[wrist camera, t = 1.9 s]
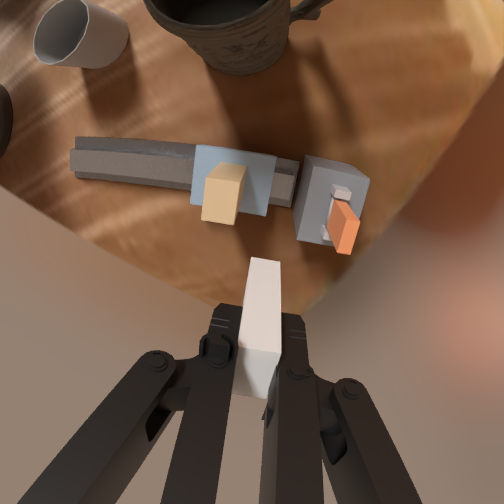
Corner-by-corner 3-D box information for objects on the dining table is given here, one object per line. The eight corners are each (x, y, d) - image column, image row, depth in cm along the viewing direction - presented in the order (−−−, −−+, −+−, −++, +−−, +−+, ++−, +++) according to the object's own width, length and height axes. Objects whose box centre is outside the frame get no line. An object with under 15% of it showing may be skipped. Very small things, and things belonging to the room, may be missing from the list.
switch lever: (323, 222, 31) (335, 252, 25) (330, 195, 29) (345, 218, 23) (336, 225, 31) (351, 255, 25) (344, 198, 29) (361, 222, 23)
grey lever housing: (292, 214, 39) (298, 248, 30) (305, 154, 36) (316, 169, 27) (336, 223, 39) (354, 258, 30) (351, 164, 36) (376, 184, 27)
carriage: (196, 195, 38) (169, 229, 28) (202, 142, 35) (174, 156, 25) (266, 207, 38) (263, 245, 28) (276, 153, 35) (277, 171, 25)
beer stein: (214, 93, 33) (172, 67, 15) (178, 25, 29) (114, -43, 11) (329, 47, 30) (399, -7, 12) (291, -19, 26) (321, -109, 8)
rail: (76, 176, 38) (67, 180, 36) (77, 136, 36) (67, 138, 34) (290, 206, 39) (291, 212, 37) (299, 161, 36) (301, 164, 34)
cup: (104, 78, 32) (60, 76, 23) (68, 55, 30) (23, 50, 21) (140, 27, 29) (103, 9, 20) (101, 6, 27) (60, -11, 18)
